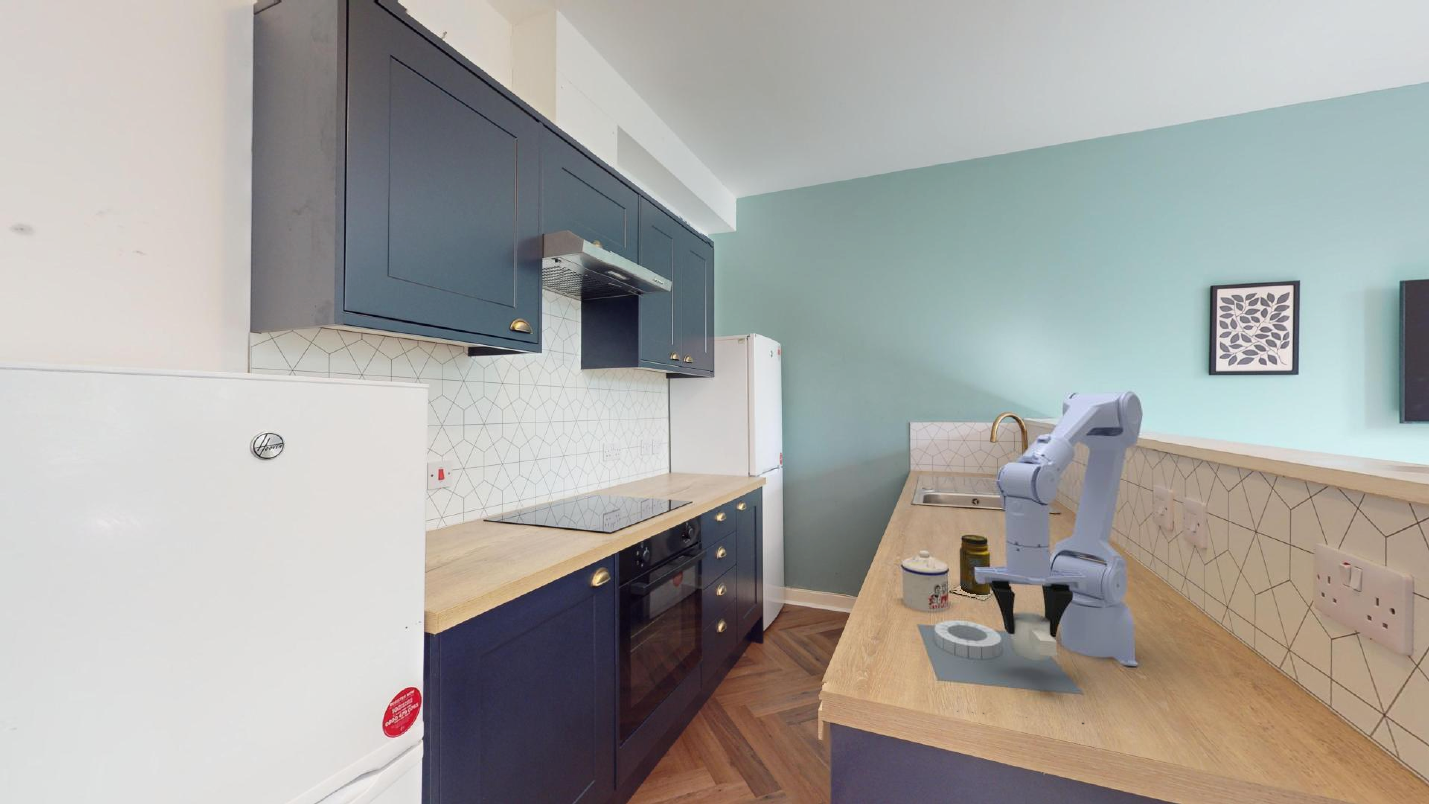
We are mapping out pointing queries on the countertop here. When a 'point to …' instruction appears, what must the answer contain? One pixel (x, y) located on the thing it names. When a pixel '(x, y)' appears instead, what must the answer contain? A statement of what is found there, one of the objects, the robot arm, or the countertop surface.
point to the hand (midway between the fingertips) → (1029, 632)
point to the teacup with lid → (925, 583)
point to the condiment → (973, 565)
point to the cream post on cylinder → (1032, 636)
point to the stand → (988, 659)
